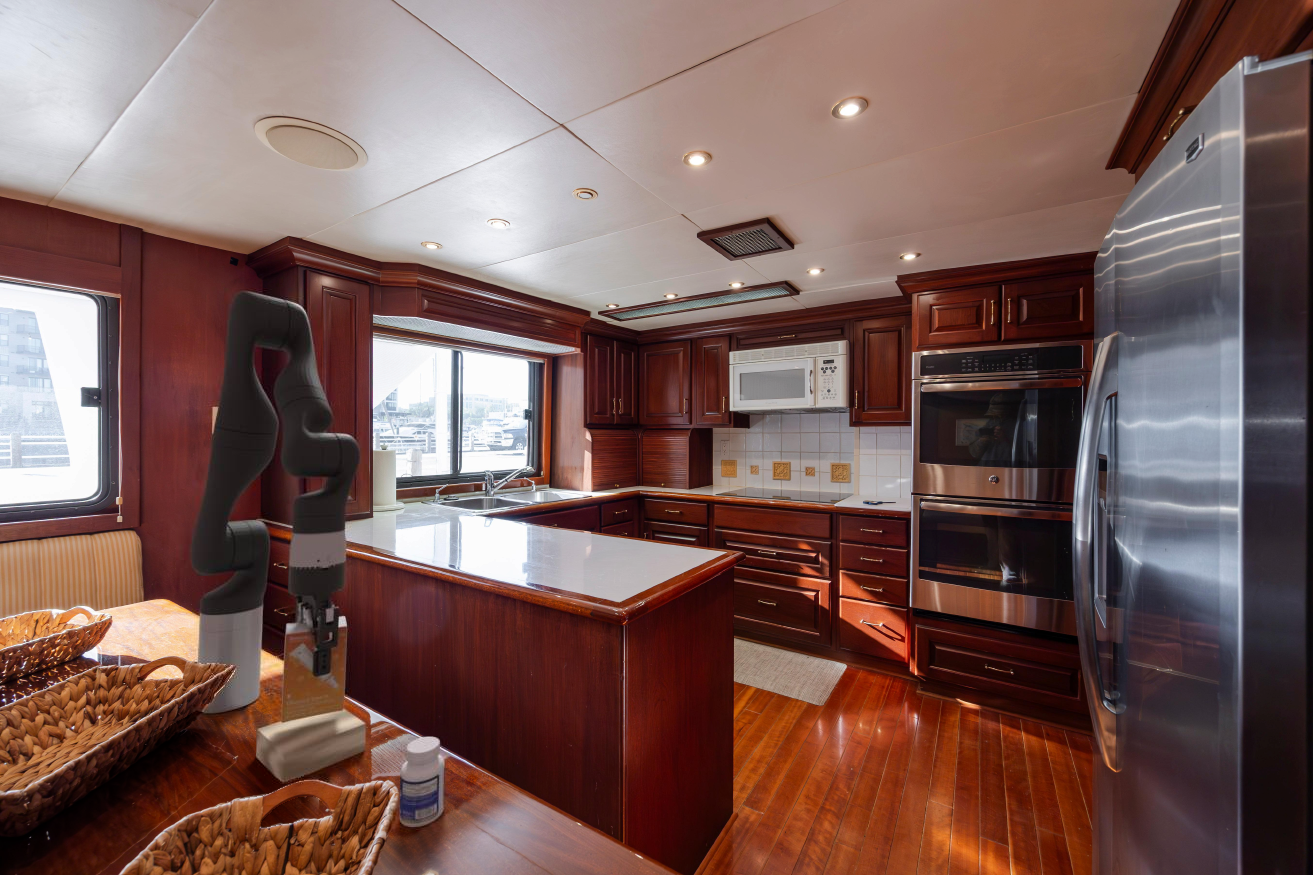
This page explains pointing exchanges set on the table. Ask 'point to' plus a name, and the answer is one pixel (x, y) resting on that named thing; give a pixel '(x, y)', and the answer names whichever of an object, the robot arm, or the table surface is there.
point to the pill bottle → (422, 783)
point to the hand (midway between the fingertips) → (314, 667)
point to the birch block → (309, 743)
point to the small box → (311, 675)
